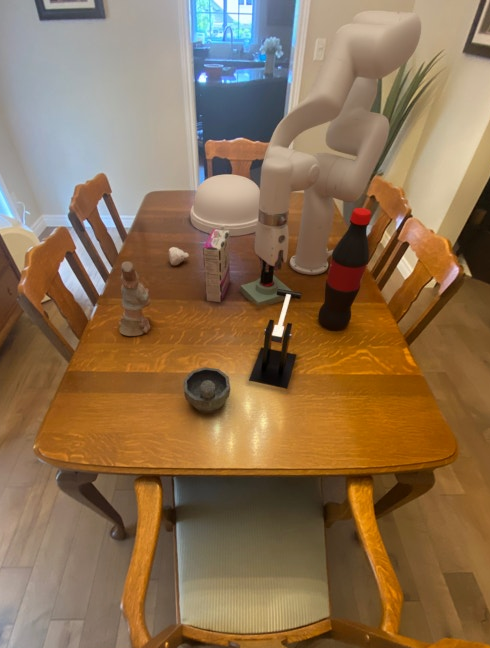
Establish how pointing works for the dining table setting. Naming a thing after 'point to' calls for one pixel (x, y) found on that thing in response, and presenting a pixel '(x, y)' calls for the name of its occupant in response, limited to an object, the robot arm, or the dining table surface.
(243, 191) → the dome cover
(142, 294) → the figurine
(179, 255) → the garlic bulb
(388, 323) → the dining table surface
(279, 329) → the lever
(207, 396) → the mortar and pestle
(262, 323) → the dining table surface
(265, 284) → the button
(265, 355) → the bracket
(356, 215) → the cola bottle
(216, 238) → the candy bar box
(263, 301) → the control block
